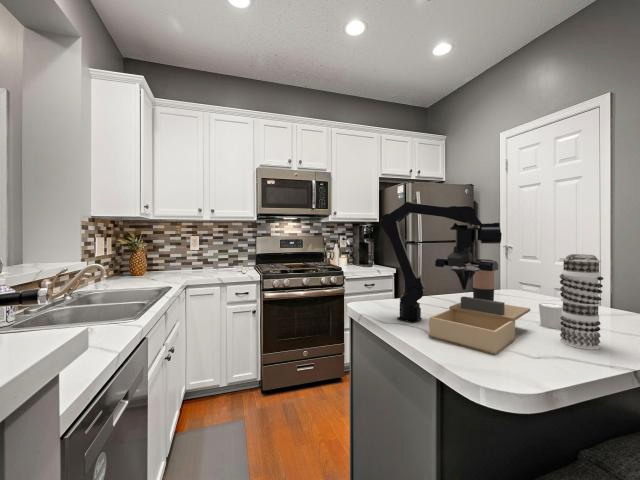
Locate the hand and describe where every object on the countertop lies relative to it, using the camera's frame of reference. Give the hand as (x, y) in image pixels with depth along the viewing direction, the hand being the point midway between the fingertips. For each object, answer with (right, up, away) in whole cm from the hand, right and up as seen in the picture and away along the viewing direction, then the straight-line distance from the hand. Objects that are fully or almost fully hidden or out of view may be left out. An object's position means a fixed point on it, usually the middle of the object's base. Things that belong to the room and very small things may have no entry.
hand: (464, 289), depth 102 cm
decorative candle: (+24, -13, -17) cm, 32 cm away
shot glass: (+28, -12, -1) cm, 31 cm away
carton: (-4, -12, -13) cm, 18 cm away
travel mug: (+18, -12, +22) cm, 31 cm away
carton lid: (+6, -6, -4) cm, 9 cm away
